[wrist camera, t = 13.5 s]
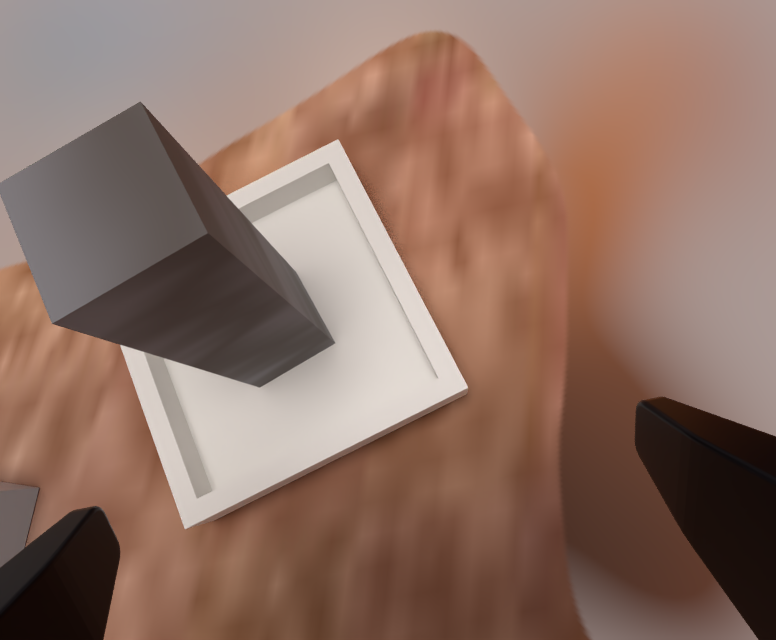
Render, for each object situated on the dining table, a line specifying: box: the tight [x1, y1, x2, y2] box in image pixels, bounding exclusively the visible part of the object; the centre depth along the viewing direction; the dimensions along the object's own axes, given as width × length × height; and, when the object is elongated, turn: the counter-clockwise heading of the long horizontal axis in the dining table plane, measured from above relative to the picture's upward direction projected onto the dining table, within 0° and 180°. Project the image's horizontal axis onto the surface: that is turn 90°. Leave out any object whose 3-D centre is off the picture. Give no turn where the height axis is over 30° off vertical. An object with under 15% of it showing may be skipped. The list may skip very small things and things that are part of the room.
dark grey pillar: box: [0, 102, 335, 388], centre depth 17 cm, size 4×4×12 cm
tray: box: [120, 140, 468, 529], centre depth 23 cm, size 12×12×2 cm
